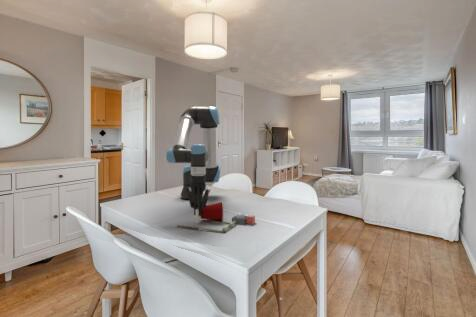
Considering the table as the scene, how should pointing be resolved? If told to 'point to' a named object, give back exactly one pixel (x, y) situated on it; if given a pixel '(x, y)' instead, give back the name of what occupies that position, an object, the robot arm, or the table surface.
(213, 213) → the plastic cup
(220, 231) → the u-shaped frame
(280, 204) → the table surface
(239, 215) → the dome
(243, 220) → the dome housing
